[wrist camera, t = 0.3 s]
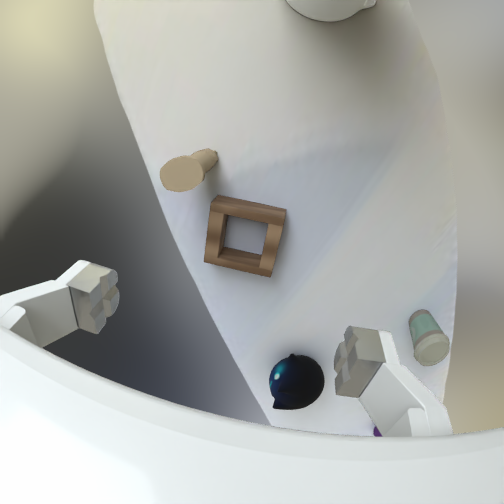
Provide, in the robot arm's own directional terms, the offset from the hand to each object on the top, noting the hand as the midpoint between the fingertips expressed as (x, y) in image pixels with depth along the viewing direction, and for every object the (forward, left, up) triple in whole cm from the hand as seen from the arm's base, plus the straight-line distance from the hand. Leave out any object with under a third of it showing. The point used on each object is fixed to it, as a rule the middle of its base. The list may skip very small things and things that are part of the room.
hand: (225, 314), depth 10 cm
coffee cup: (+30, +40, -46) cm, 68 cm away
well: (+18, -4, -46) cm, 49 cm away
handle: (+5, -13, -46) cm, 48 cm away
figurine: (+51, +15, -46) cm, 70 cm away
